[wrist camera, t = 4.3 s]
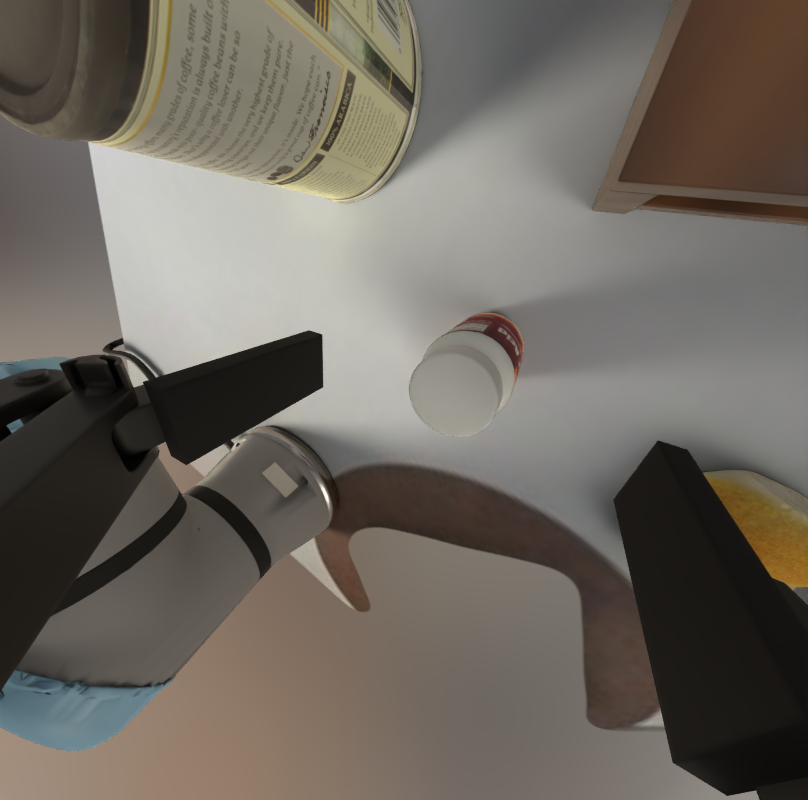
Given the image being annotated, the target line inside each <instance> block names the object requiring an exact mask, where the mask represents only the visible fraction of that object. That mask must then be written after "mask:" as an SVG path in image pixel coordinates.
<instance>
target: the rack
mask: <svg viewBox="0 0 808 800" xmlns="http://www.w3.org/2000/svg"><path fill="white" fill-rule="evenodd" d="M636 207H637V209H643V210H653V211H663V212H673V213H683V214H693V215H703V216H713V217H724V218H734V219H744V220H754V221H764V222H774V223H784V224H794V225H804V226H808V0H674V1H673V4H672V6H671V9H670V11H669V14H668V16H667V19H666V21H665V24H664V27H663V29H662V32H661V34H660V37H659V39H658V42H657V44H656V47H655V50H654V52H653V55H652V57H651V60H650V62H649V65H648V67H647V70H646V73H645V75H644V78H643V80H642V83H641V85H640V88H639V90H638V93H637V95H636V98H635V101H634V103H633V106H632V108H631V111H630V113H629V116H628V118H627V121H626V124H625V126H624V129H623V131H622V134H621V136H620V139H619V141H618V144H617V147H616V149H615V152H614V154H613V157H612V159H611V162H610V164H609V167H608V170H607V172H606V175H605V177H604V180H603V182H602V185H601V187H600V190H599V193H598V195H597V198H596V200H595V203H594V205H593V208H592V210H593V211H600V212H610V213H619V214H626V213H627V212H629V211H631V210H633V209H635V208H636Z"/></svg>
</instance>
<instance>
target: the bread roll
mask: <svg viewBox="0 0 808 800" xmlns="http://www.w3.org/2000/svg"><path fill="white" fill-rule="evenodd" d="M703 474H704V476H705V477H706V479H707V480H708V482H709V483H710V485H711V486H712V488H713V489H714V491H715V492H716V494H717V495H718V497H719V498H720V500H721V501H722V503H723V504H724V506H725V507H726V509H727V510H728V512H729V513H730V515H731V516H732V518H733V519H734V521H735V523H736V524H737V526H738V527H739V529H740V530H741V532H742V533H743V535H744V536H745V538H746V539H747V541H748V542H749V544H750V545H751V547H752V548H753V550H754V551H755V553H756V554H757V556H758V557H759V559H760V560H761V562H762V563H763V565H764V566H765V568H766V569H767V571H768V572H769V574H770V576H771V577H772V578H774V579H776V580H779V581H781V582H784V583H786V584H787V585H788V586H789V587H790V588H791V589H792V590H794V589H796V588H797V587H808V499H807V498H805V497H804V496H802V495H801V494H799V493H798V492H796V491H794V490H792V489H790V488H788V487H786V486H784V485H782V484H779V483H778V482H776V481H774V480H771V479H769V478H766V477H764V476H762V475H760V474H757V473H754V472H751V471H746V470H722V471H714V472H703Z"/></svg>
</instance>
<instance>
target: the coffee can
mask: <svg viewBox="0 0 808 800" xmlns="http://www.w3.org/2000/svg"><path fill="white" fill-rule="evenodd" d="M421 85H422V62H421V50H420V42H419V37H418V31H417V27H416V23H415V19H414V16H413V13H412V10H411V7H410V4H409V2H408V0H0V114H1V115H2V116H4V117H5V118H6V119H8V120H9V121H10V122H12V123H13V124H14V125H16V126H18V127H20V128H22V129H23V130H25V131H27V132H29V133H33V134H36V135H39V136H43V137H48V138H53V139H59V140H65V141H77V140H83V141H87V142H91V143H96V144H100V145H104V146H108V147H112V148H117V149H121V150H125V151H129V152H134V153H138V154H142V155H146V156H151V157H155V158H159V159H163V160H168V161H172V162H176V163H181V164H185V165H189V166H193V167H198V168H202V169H206V170H210V171H214V172H218V173H223V174H227V175H231V176H236V177H240V178H244V179H248V180H253V181H256V182H261V183H265V184H270V185H274V186H279V187H283V188H287V189H291V190H295V191H299V192H304V193H308V194H312V195H317V196H321V197H324V198H326V199H329V200H331V201H336V202H345V203H351V202H355V201H358V200H361V199H364V198H366V197H368V196H370V195H371V194H373V193H374V192H376V191H377V190H378V189H379V188H380V187H382V186H383V185H384V184H385V183H386V181H387V180H388V179H389V178H390V177H391V175H392V174H393V172H394V171H395V169H396V168H397V167H398V166H399V164H400V162H401V160H402V158H403V155H404V153H405V151H406V149H407V147H408V145H409V142H410V139H411V136H412V134H413V131H414V128H415V124H416V120H417V115H418V111H419V105H420V97H421Z"/></svg>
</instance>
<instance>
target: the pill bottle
mask: <svg viewBox="0 0 808 800" xmlns="http://www.w3.org/2000/svg"><path fill="white" fill-rule="evenodd" d="M523 354H524V342H523V337H522V335H521V332H520V330H519V329H518V327H517V326H516V325H515V324H514V323H513V322H512V321H511V320H510V319H508V318H506V317H505V316H502V315H500V314H496V313H479V314H476V315H473V316H471V317H469V318H467V319H466V320H464V321H463V322H461V323H460V324H459V325H457V326H456V327H455V328H453V329H452V330H450V331H449V332H447V333H446V334H444V335H443V336H441V337H440V338H438V339H437V340H436V341H434V342H433V343H432V344H431V345H430V347H429V348H428V349H427V351H426V352H425V354H424V356H423V359H422V362H421V363H420V364H419V365H418V366H417V367H416V369H415V370H414V372H413V374H412V377H411V380H410V385H409V394H410V400H411V403H412V406H413V408H414V410H415V412H416V413H417V415H418V416H419V418H420V419H421V420H422V421H423V422H424V423H425V424H426V425H428V426H429V427H430V428H432V429H433V430H435V431H437V432H439V433H442V434H445V435H449V436H455V437H464V436H469V435H473V434H475V433H478V432H480V431H481V430H483V429H484V428H485V427H486V426H487V425H488V424H489V423H490V422H491V421H492V419H493V418H494V416H495V414H496V412H498V411H499V410H500V409H501V408H502V407H503V406H504V405H505V404H506V403H507V401H508V400H509V398H510V396H511V394H512V391H513V388H514V385H515V382H516V378H517V375H518V372H519V368H520V365H521V361H522V358H523Z"/></svg>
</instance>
